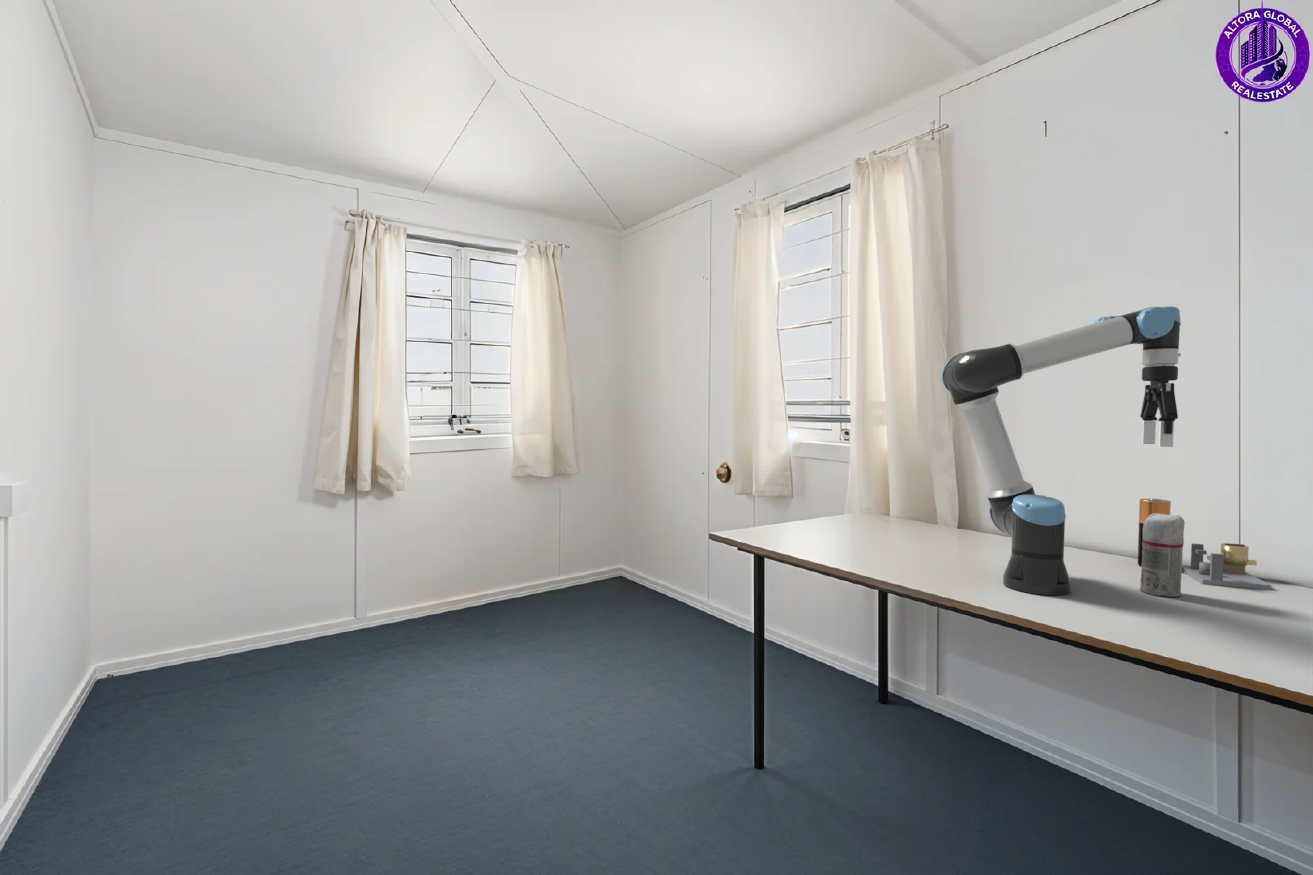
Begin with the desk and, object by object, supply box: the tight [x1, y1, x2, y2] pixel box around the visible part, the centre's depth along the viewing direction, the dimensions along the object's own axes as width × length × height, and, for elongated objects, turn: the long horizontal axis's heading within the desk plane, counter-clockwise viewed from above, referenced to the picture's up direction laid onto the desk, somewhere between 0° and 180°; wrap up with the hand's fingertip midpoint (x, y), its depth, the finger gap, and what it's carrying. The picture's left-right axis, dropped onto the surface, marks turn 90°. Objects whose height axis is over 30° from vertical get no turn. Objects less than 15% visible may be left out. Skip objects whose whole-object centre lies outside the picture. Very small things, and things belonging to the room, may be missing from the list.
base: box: [1181, 543, 1272, 591], centre depth 171 cm, size 14×17×8 cm
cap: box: [1220, 542, 1258, 567], centre depth 174 cm, size 9×6×5 cm, turn 67°
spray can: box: [1139, 513, 1185, 598], centre depth 158 cm, size 8×8×20 cm
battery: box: [1137, 498, 1172, 567], centre depth 184 cm, size 7×7×20 cm
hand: (1156, 445), depth 169 cm, fingers open, 13 cm apart
